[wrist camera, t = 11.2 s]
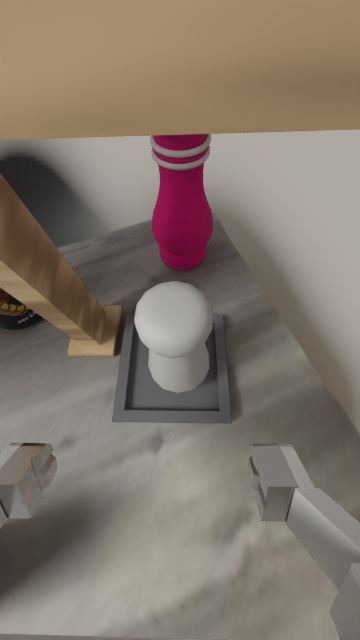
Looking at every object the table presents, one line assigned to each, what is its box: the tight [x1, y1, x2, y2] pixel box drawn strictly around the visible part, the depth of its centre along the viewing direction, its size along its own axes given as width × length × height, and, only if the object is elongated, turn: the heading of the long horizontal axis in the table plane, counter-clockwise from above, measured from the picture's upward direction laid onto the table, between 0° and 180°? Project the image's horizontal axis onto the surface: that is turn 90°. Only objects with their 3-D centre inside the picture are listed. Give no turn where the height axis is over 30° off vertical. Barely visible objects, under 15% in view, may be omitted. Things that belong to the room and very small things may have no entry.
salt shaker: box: [134, 280, 213, 393], centre depth 17 cm, size 6×6×13 cm
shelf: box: [0, 0, 360, 356], centre depth 14 cm, size 8×17×22 cm, turn 89°
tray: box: [112, 315, 232, 423], centre depth 22 cm, size 11×11×1 cm
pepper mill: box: [150, 134, 213, 270], centre depth 21 cm, size 7×7×20 cm
